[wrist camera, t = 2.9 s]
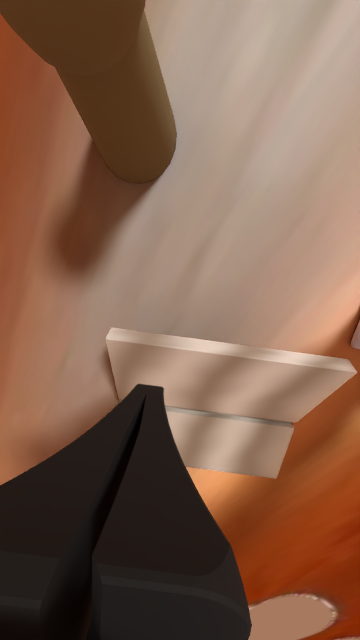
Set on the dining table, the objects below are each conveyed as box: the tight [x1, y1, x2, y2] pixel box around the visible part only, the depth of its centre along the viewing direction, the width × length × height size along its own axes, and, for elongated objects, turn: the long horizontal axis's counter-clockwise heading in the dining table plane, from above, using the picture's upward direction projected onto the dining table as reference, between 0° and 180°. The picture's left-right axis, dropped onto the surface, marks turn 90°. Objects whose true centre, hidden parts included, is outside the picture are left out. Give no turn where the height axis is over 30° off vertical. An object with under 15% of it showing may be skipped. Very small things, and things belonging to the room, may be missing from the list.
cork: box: [0, 0, 177, 183], centre depth 9 cm, size 6×6×11 cm
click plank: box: [106, 328, 357, 423], centre depth 17 cm, size 18×9×1 cm, turn 83°
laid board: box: [120, 399, 295, 479], centre depth 21 cm, size 18×8×1 cm, turn 83°
